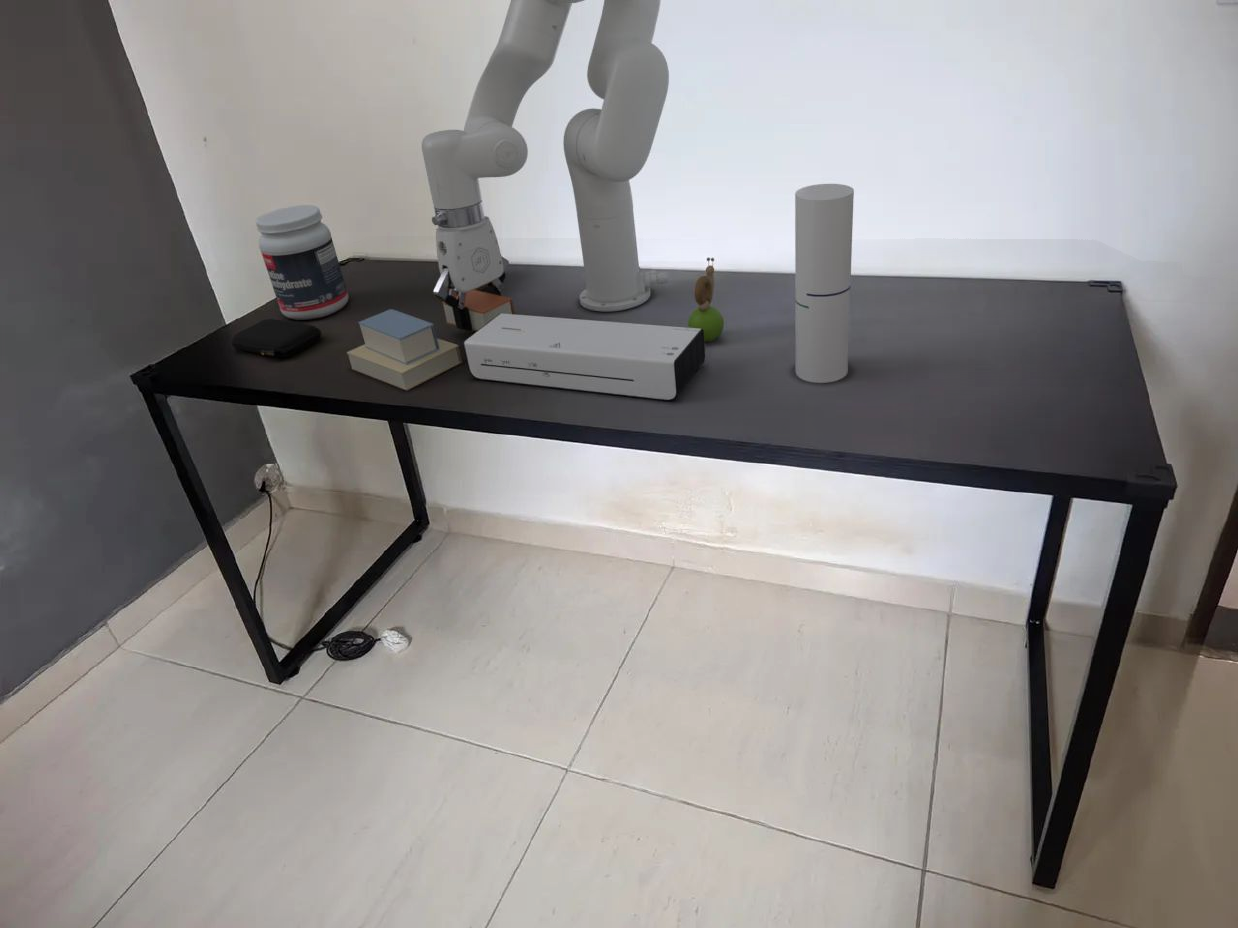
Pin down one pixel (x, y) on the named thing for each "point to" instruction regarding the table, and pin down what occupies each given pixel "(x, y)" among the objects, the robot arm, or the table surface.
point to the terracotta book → (481, 308)
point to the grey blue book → (399, 336)
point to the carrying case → (276, 338)
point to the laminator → (586, 355)
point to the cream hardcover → (403, 373)
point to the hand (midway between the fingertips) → (480, 320)
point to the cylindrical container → (822, 281)
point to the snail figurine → (706, 307)
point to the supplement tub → (301, 262)
